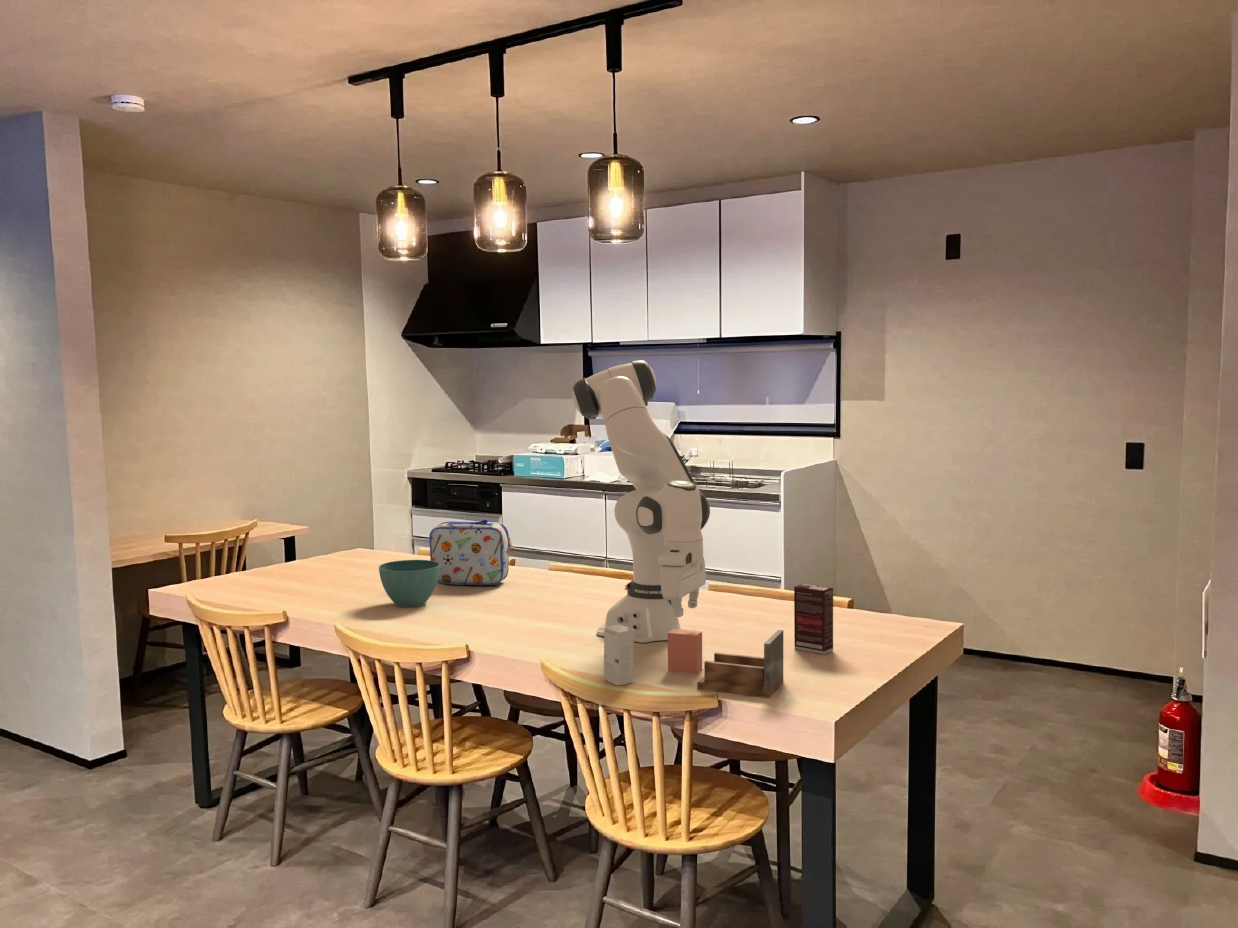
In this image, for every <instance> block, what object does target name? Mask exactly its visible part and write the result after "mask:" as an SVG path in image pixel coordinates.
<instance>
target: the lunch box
mask: <svg viewBox="0 0 1238 928" xmlns="http://www.w3.org/2000/svg"><path fill="white" fill-rule="evenodd" d="M489 521H490V520H488V519H483V520H480V521H444V522H441V523H440V524H438V525H437V526H435V527H433V528H432V529H431V530H430V532H429V537H428V542H429V543H428V544H429V557H430V558H429V559H430V561H436V562H439V563H440V573H439V578H438V581H437V583H440V584H444V585H457V586H490V585H491V586H493V585H499V584H500V583H501V582H502V581H504V580H505V579H507V577H508V574H509V563H510V562H509V559H510V556H509V553H510V552H511V549H512V548H513V547H514V546H513V542H512V540H511V537H510V534H509V531H508V529H507V527H506V526H505V525H504V524H502V523H499V522H489Z"/></svg>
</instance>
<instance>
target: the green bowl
mask: <svg viewBox="0 0 1238 928" xmlns="http://www.w3.org/2000/svg"><path fill="white" fill-rule="evenodd" d="M378 572H379V573H378V574H379V578H380V581H381V585H382V587H383V589H384V591H385V593H386V595H387V596H388V597H389V599H390V600H391V601H392V603H393V604H394V605H396V607H399V608H406V609H407V608H408V609H409V608H418V607H422V606H424V605H425V604H426V603H427V602H428V600H430V598H431V596H432V594H433V593H434V591H435V589H436V586H437V584H438V582H437V581H438V578H439V573H440V563H439V562H436V561H430V560H429V559H402V560H395V561H394V560H393V561H388V562H384V563H381V564H380V565H379V566H378Z"/></svg>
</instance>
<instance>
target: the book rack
mask: <svg viewBox="0 0 1238 928" xmlns="http://www.w3.org/2000/svg"><path fill="white" fill-rule="evenodd" d="M713 656H714V657H713V660H714V661H711V660H705V661H704V665H703V667H704V668H703V671H704V675H703V676H702V677H701V678H700V679H699V680H698V681H697V682H696V689H697V690H701V691H710V692H711V691H712V692H719V693H729V694H736V695H743V696H744V695H745V696H752V697H761V698H767V699H768V698H769V699H770V698H771V697H772V696H773V695H774V693H775V692H776V691H777V690H778V689H779V687H780V686H781V685H782V684H783V683H784V630H783V629H777V630H776V631H775V632H774V633H773V634H772V635H771V636H770V637H769V638H768V639H767V640H766V641H765V642H764V643H763V657H761V656H752V655H743V654H735V653H722V652H714V653H713Z"/></svg>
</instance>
